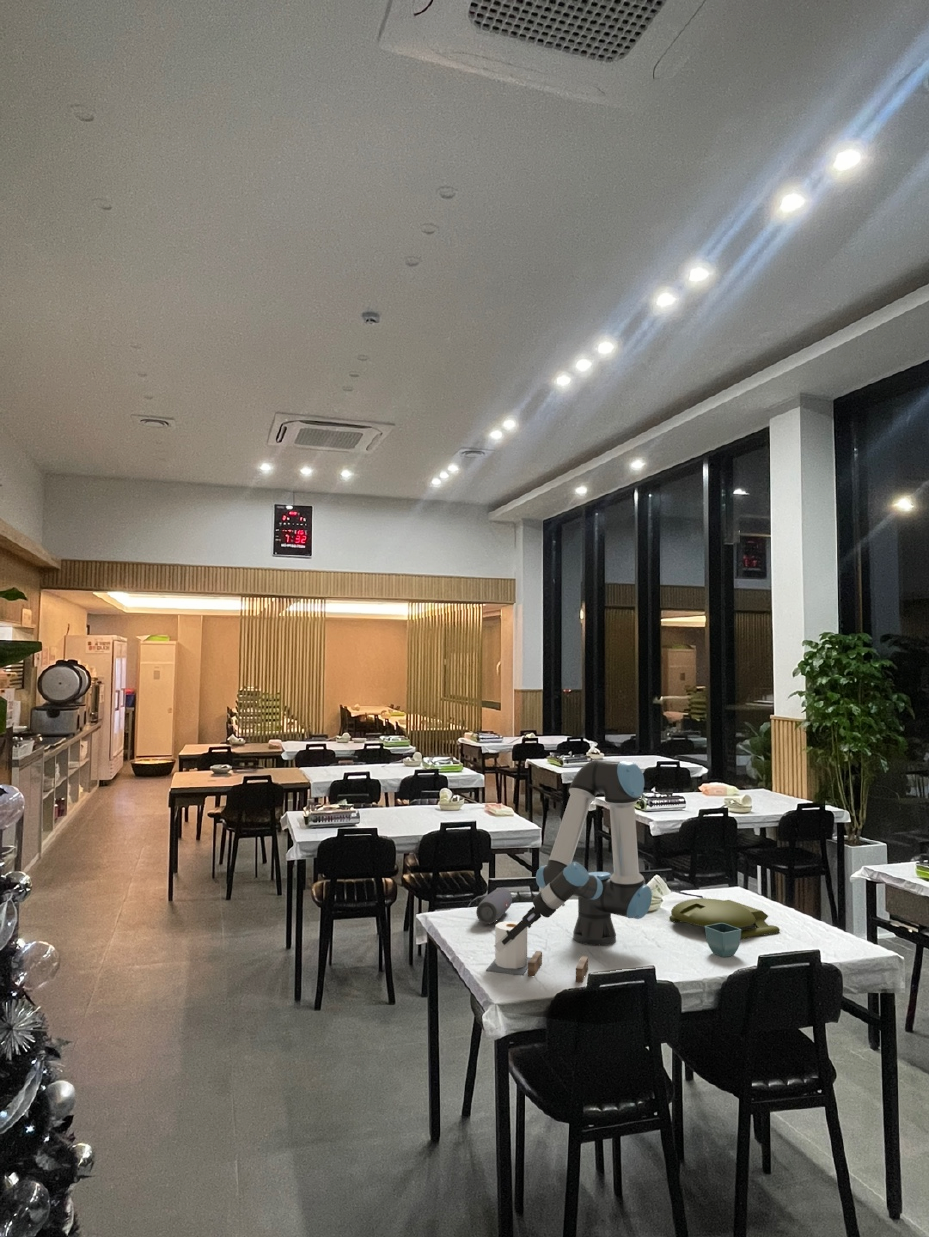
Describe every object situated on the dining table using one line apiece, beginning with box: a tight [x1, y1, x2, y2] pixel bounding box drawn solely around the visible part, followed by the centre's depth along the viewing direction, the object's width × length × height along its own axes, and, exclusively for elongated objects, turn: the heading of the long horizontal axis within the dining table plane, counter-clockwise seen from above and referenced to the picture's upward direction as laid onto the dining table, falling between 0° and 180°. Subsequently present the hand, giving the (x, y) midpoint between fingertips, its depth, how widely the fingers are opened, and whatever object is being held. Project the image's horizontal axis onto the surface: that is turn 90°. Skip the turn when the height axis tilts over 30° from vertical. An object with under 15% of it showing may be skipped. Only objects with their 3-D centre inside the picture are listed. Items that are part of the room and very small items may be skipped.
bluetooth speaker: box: [475, 887, 513, 925], centre depth 315 cm, size 23×9×10 cm, turn 162°
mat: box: [485, 956, 532, 976], centre depth 263 cm, size 16×12×1 cm
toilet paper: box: [494, 920, 528, 969], centre depth 264 cm, size 10×10×12 cm
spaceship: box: [669, 898, 781, 940], centre depth 308 cm, size 35×31×10 cm
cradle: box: [527, 950, 589, 983], centre depth 257 cm, size 12×17×4 cm
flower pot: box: [704, 923, 742, 958], centre depth 277 cm, size 9×9×9 cm
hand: (504, 942), depth 265 cm, fingers open, 13 cm apart
